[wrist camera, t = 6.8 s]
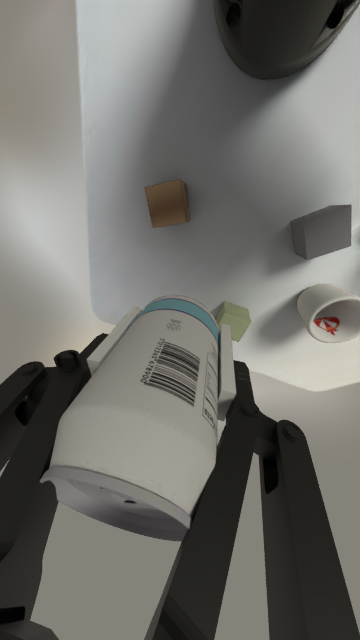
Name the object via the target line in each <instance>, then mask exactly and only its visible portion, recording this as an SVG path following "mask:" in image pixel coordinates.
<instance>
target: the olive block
mask: <svg viewBox="0 0 360 640" xmlns="http://www.w3.org/2000/svg"><path fill="white" fill-rule="evenodd" d="M216 322H217V325H218V332H219V329H220V325H221V323H222V324H227V325H230V328H231V340H234V341H237V342H239V341H240V339H241V338H242V336H243V334H244V333H245V331H246V330H247V328H248V326H249V325H250V323H251V320H250V316H249V312H248V309H245V308H243V307H240V306H237V305H234V304H231V303H228V302H225V301H224V303H223V305H222V307H221V309H220V311H219V313H218V315H217V318H216Z"/></svg>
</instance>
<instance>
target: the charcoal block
mask: <svg viewBox="0 0 360 640" xmlns="http://www.w3.org/2000/svg"><path fill="white" fill-rule="evenodd" d="M291 226H292V234H293V242H294V250H295V253H296V254H297V255H299V256H301V257H303V258H304V259H306V260H309V259H312V258H315V257H318V256H322V255H325V254H328V253H331V252H334V251H337V250H340V249H343V248H346V247H350V246H351V205H332V206H328V207H325V208H323V209H320V210H318V211H315V212H313V213H310V214H308V215H305V216H303V217H300V218H298V219H295V220H293V221H291Z"/></svg>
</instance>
